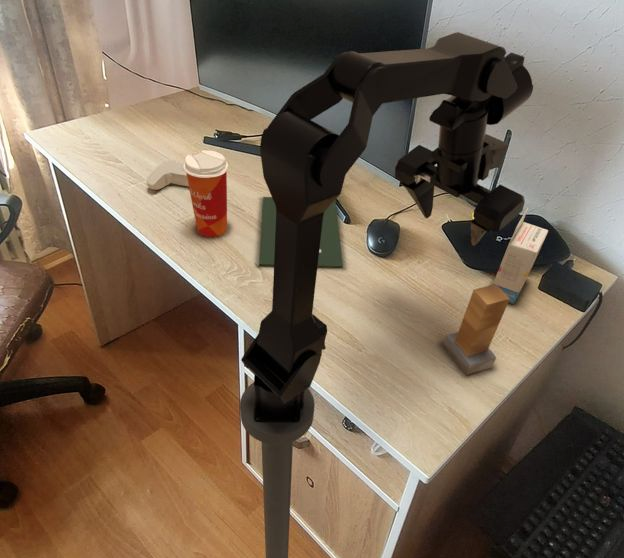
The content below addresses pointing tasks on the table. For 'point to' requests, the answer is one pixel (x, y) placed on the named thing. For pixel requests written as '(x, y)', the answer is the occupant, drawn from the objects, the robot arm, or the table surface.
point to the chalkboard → (328, 243)
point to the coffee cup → (208, 191)
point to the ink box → (519, 258)
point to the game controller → (167, 175)
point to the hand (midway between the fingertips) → (451, 229)
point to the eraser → (477, 330)
